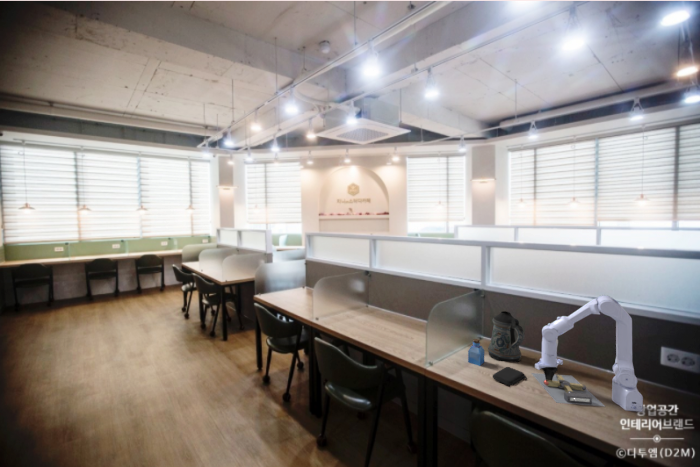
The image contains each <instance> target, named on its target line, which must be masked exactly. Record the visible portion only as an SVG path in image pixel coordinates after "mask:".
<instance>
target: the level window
mask: <svg viewBox="0 0 700 467" xmlns="http://www.w3.org/2000/svg"><path fill="white" fill-rule="evenodd" d="M564 399H565V400H566V401H567V402H569V403H582V404H592V397H591V396H590V395H589V394H580V393H566V392H564Z"/></svg>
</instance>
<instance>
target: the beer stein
mask: <svg viewBox="0 0 700 467" xmlns="http://www.w3.org/2000/svg"><path fill="white" fill-rule="evenodd" d="M492 323H493V327H492V333H491V338H490V342H489V344H488V346H487V351H488V355H489V357H490V358H491V359H492V360H495V361H498V362H505V363H506V362H508V363H519V362H518V361H521V359H522V358H521V356H522V352H521V348H520V346H521V345H522V343H523V342H524V340H525V336H526V335H525V331H524V329H523V327H522V326H521V325H520V321H519V319H518V318H515V317H514V316H513V315H512V314H511V312H510V311H507V310H504V311H501V312H499V314H497V315H495V316H493V318H492Z"/></svg>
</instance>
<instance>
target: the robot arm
mask: <svg viewBox="0 0 700 467" xmlns="http://www.w3.org/2000/svg"><path fill="white" fill-rule="evenodd" d="M601 314H603V315H605V316H608V317H610V318H611V319H612V320H614V321H615V327H616V328H615V336H616V337H615V340H616V341H615V345H616V347H615V349H616V350H615V351H616V352H615V353H616V355H615V362H614V364H613V365H612V371H613V373H614V375H615V376H613V378H612V383H611V388H612V389H611V400H612V401H613V403H615V404H616V405H618V406H620V407H621V409H623V410H624V411H631V412H643V406H644V404H643V403H644V402H643V401H644V397H643V395H642V394H641V392H639V389H638V388H637V384H638V378H637V377H636V375H635V369H634V368H635V367H634V364H633V319H632V317H631V315H630V314H629V313H628V312H627V310H625V308H624V307H623V306H622V305H621V304H620V303H619V301H618V300H616V299H614V298H613V297H611V296H610V295H606V294H602V295H599V296H597V297H596V298H593V299H591V300H590V301H588V302H587V303H586V304H584V305H582V306H581V307H580V308H577V310H575V311H574V312H572V313H571V314H569V315H568V316H566V315H562V316H557V317H556V320H554V321H552V322H551V323H550V322H549V323H547V325H544V326H543V327H542V329H541V335H542V338H541V357H540V358H539V361H538V362H536V363H534V369H537V370H539V371H540V370H542V371H543V374H545V377H546V380H552V379H553V376H554V375H556V373H557V372H558V370H559V369H558V366H559V365H560V366H561V365H563V364H564V362H563V361H564V360H563V359H560V358H557V357H558V354H557V353H558V346H557V343H556V340H557V339H558V337H559V336H561V335H563V334H565V333H566V332H568V331H570V330H572V329H573V328H574V327H575V326H574V325H575V324H576V323H577V322H579V321H581V320H583V319H584V318H586V317H588V316H590V315H601ZM557 365H558V366H557ZM556 366H557V368H556Z"/></svg>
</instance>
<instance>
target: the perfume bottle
mask: <svg viewBox="0 0 700 467" xmlns="http://www.w3.org/2000/svg"><path fill="white" fill-rule="evenodd" d="M480 341H481V340H480V339H478V338H473V340H472V345H471V346H470V347H469V349H468V350H467V353H468V354H467V356H468V357H467V363H469V364H472V365H476V366H479V367H481V365H483V364H484V363H485V349H484V348H483V346H482V345H481V342H480Z"/></svg>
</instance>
